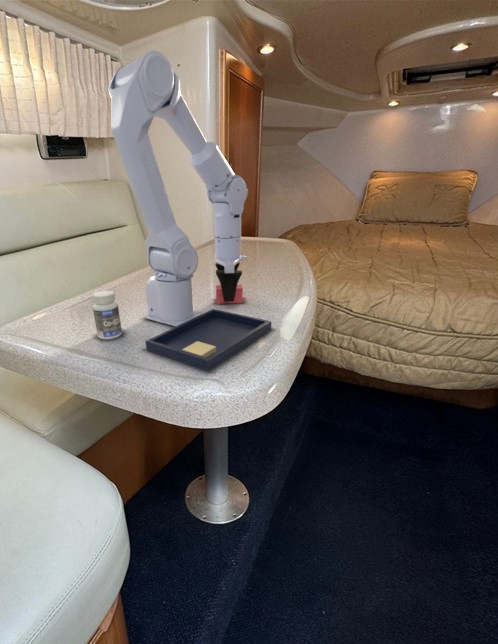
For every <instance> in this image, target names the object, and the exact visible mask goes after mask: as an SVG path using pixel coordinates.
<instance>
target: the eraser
mask: <svg viewBox="0 0 498 644" xmlns="http://www.w3.org/2000/svg"><path fill="white" fill-rule="evenodd" d="M243 290H244V288H243V285H242V284H237V287H236V293H235V298H234V301H230V302H224V298H223V293H222V288H221V284H219V285H215V297H216V298H215V302H216V304H217V305H218V304H219V305H220V304H222V305H224V304H242V303H243V301H244V299H243V298H244V295H243V293H244V291H243Z"/></svg>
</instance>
